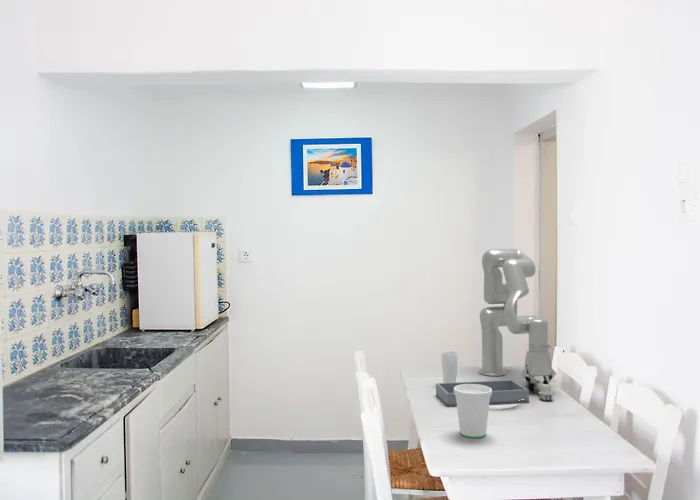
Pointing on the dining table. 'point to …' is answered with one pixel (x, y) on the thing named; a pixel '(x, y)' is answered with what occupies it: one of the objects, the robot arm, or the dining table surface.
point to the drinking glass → (449, 366)
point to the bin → (500, 392)
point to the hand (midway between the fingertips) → (538, 391)
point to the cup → (472, 409)
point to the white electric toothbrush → (542, 389)
